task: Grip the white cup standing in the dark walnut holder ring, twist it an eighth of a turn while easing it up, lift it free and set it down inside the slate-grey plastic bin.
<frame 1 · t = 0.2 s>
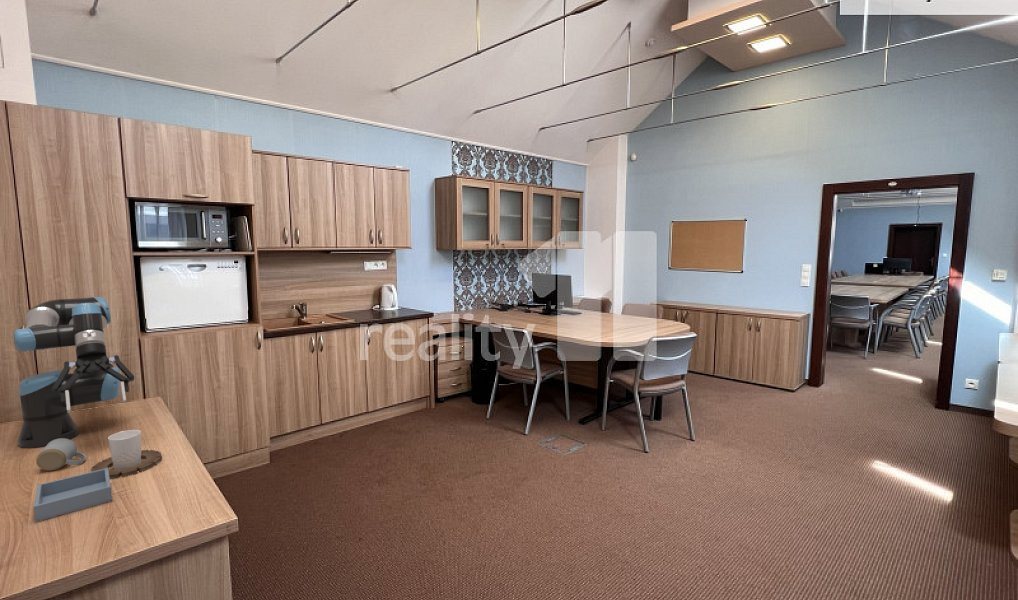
hand: (97, 406, 154), 16 cm above the counter, tool tilted 35°, fingers open, 13 cm apart
ceramic mug: (63, 465, 149), on the counter
holder ring: (127, 465, 148), on the counter
white cup: (127, 466, 148), resting in holder ring
bin: (75, 499, 129), on the counter
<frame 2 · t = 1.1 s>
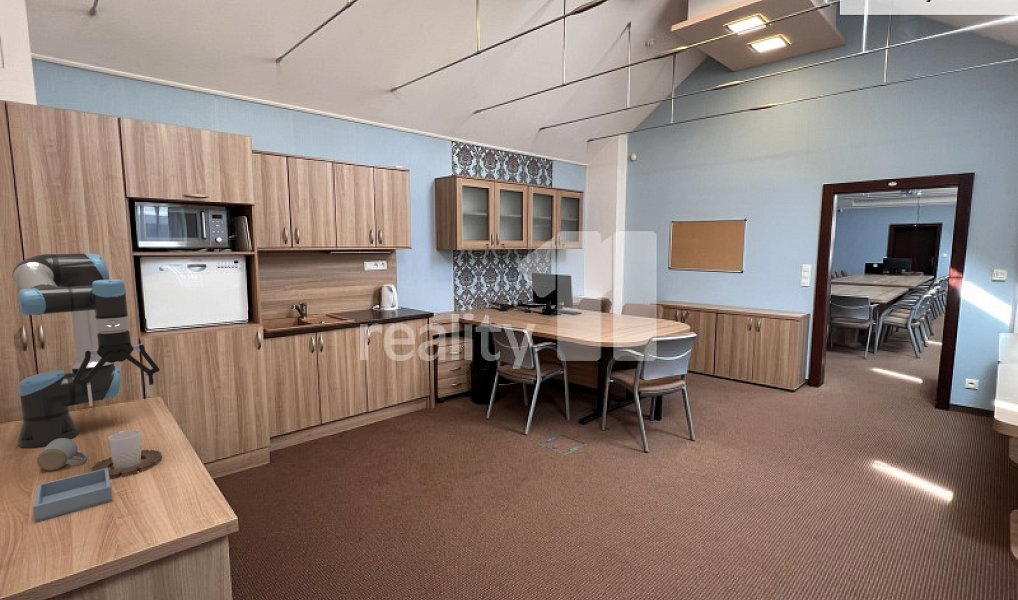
hand: (120, 400, 146), 21 cm above the counter, tool pointing down, fingers open, 13 cm apart
nothing on the counter moved.
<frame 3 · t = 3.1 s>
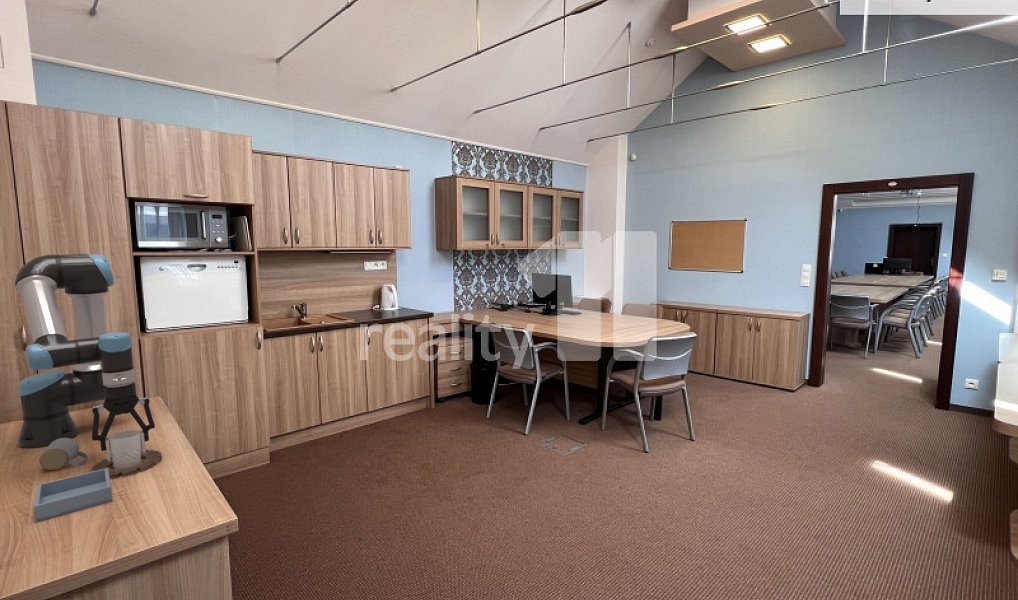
hand: (126, 455, 148), 3 cm above the counter, tool pointing down, fingers closed on white cup, 8 cm apart
white cup: (127, 466, 148), resting in holder ring, touching gripper
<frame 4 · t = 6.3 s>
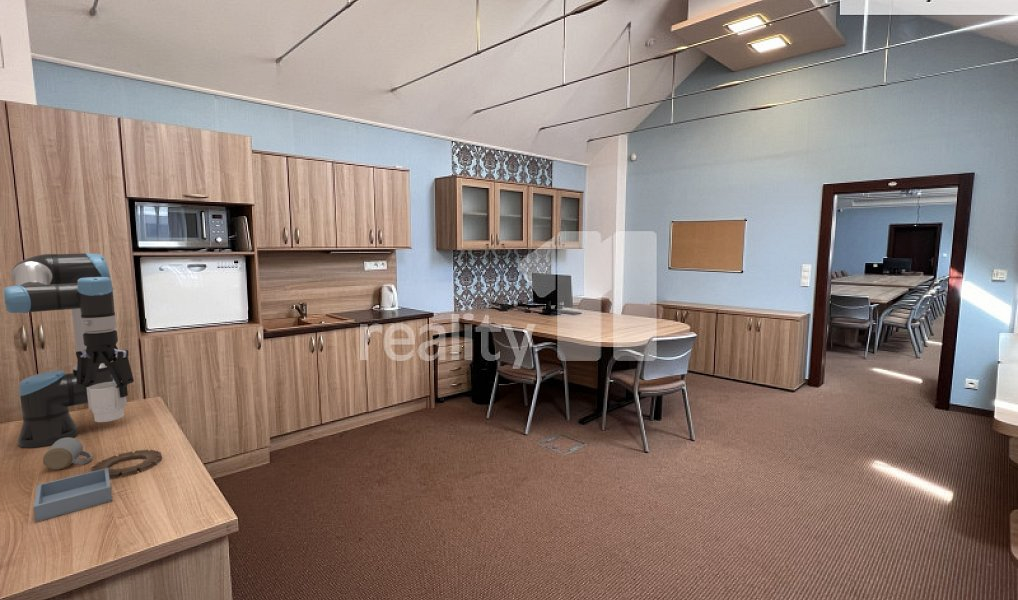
hand: (108, 407, 140), 21 cm above the counter, tool pointing down, fingers closed on white cup, 8 cm apart
white cup: (109, 418, 141), point 17 cm above the counter, touching gripper
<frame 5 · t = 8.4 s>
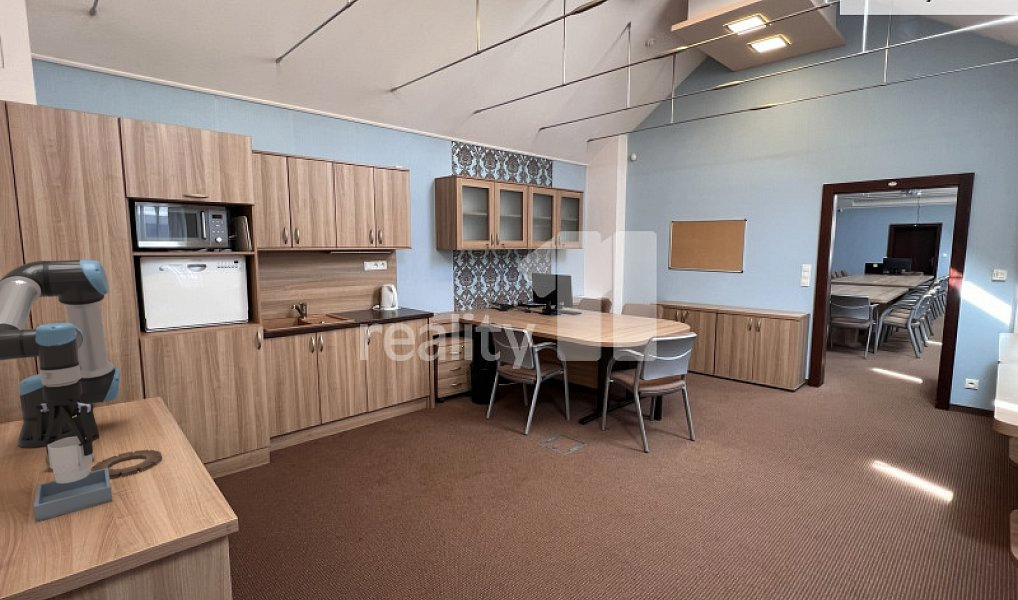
hand: (71, 466, 127), 10 cm above the counter, tool pointing down, fingers closed on white cup, 8 cm apart
white cup: (72, 478, 128), point 6 cm above the counter, touching gripper
when the fingers open (5 cm above the counter, at t = 9.8 s): white cup drops 1 cm, resting on bin.
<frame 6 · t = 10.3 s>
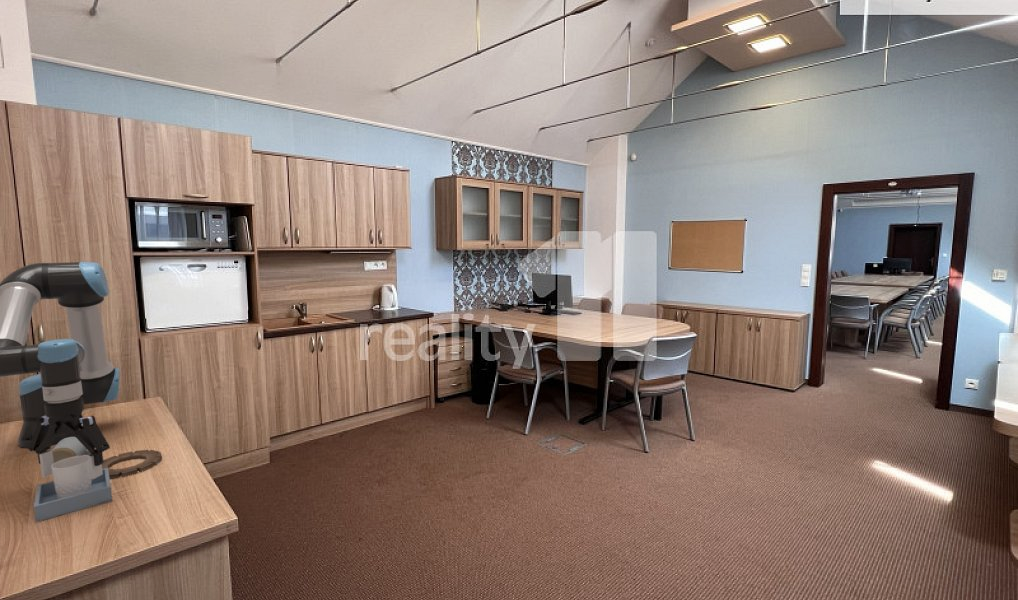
hand: (72, 476, 128), 7 cm above the counter, tool pointing down, fingers open, 13 cm apart
white cup: (75, 498, 129), resting on bin
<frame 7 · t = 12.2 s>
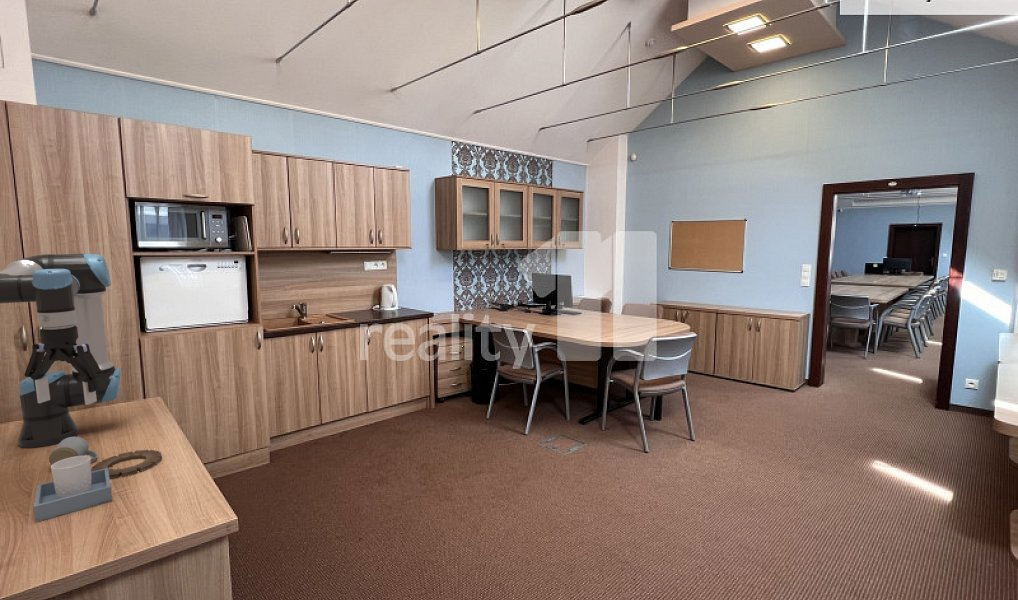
hand: (67, 402, 132), 25 cm above the counter, tool pointing down, fingers open, 13 cm apart
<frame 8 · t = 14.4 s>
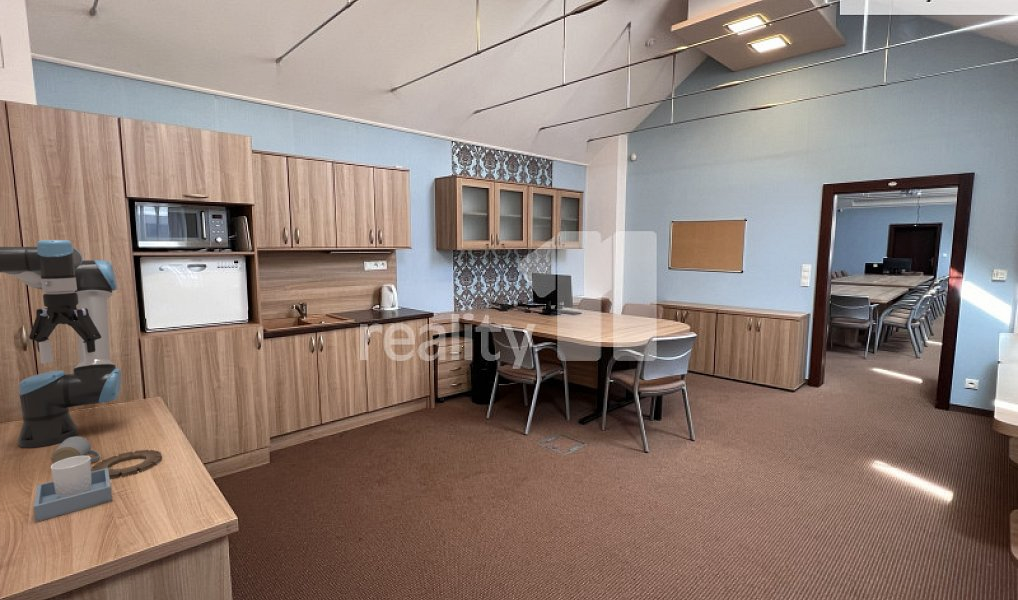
hand: (68, 362, 144), 33 cm above the counter, tool pointing down, fingers open, 13 cm apart
at the end: white cup inside the target area on the bin (0.2 cm from its centre), point 0.4 cm above the bin's base; white cup tilted 0°; the gripper is holding nothing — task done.
